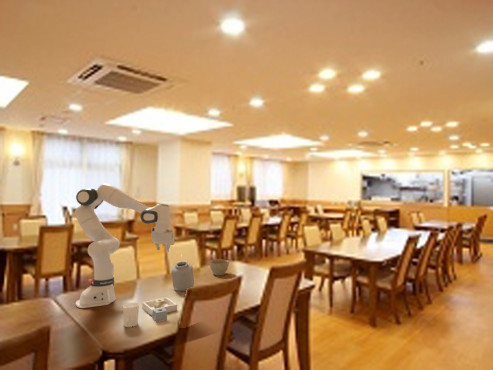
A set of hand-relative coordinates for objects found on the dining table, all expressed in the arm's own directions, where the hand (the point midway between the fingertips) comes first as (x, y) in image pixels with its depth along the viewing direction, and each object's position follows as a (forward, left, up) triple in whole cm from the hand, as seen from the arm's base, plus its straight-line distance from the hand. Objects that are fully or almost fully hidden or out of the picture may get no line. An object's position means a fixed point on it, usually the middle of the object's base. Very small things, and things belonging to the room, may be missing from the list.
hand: (162, 250), depth 204 cm
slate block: (-13, -28, -31) cm, 44 cm away
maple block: (-8, -14, -30) cm, 35 cm away
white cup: (-28, -26, -31) cm, 49 cm away
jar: (+20, +12, -31) cm, 39 cm away
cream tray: (-8, -14, -31) cm, 35 cm away
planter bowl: (+64, +32, -31) cm, 78 cm away
